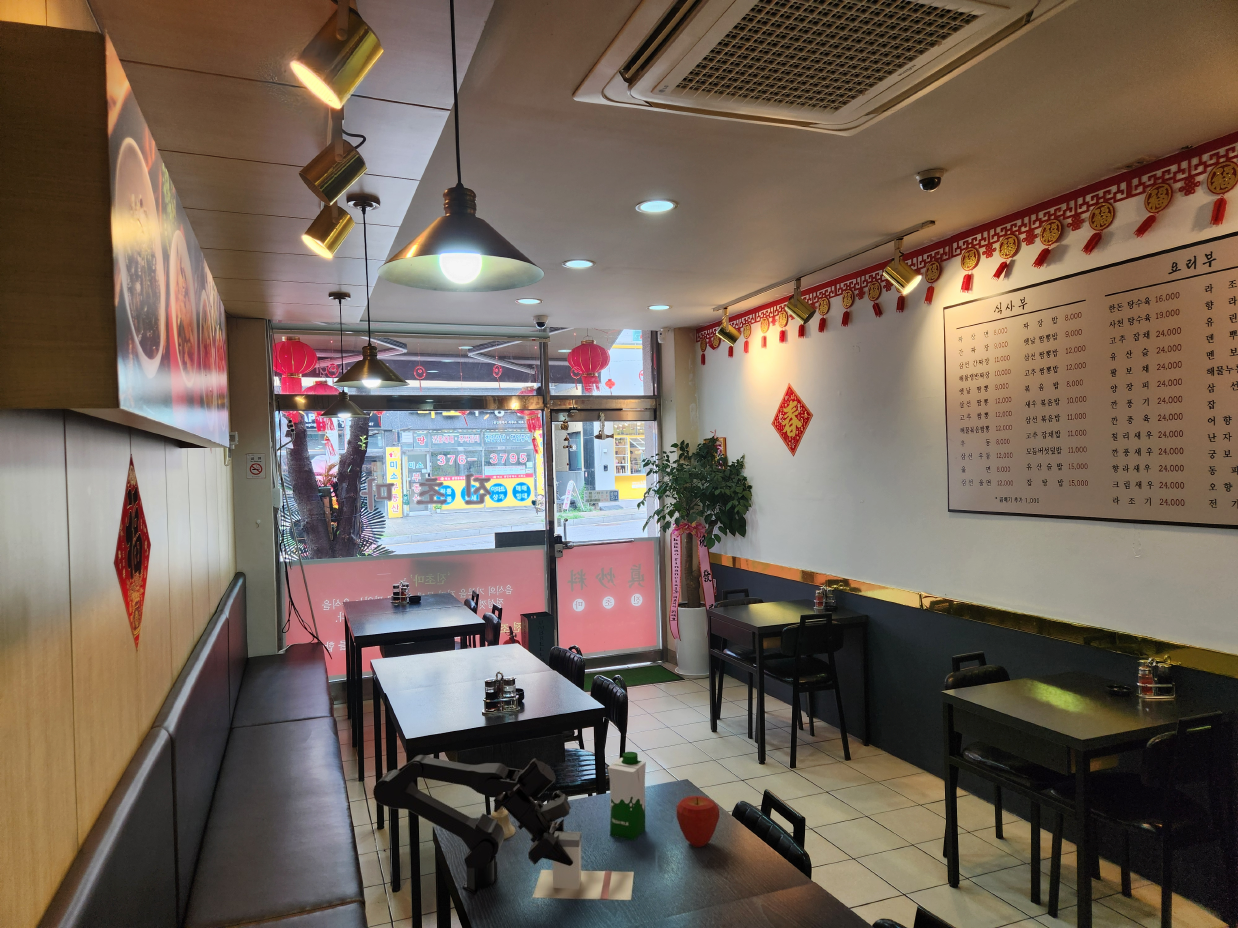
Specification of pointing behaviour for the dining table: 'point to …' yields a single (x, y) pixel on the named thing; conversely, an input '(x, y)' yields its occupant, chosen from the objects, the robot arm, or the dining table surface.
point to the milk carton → (627, 796)
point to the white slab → (564, 873)
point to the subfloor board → (588, 886)
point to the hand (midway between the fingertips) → (573, 859)
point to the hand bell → (504, 821)
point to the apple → (697, 819)
